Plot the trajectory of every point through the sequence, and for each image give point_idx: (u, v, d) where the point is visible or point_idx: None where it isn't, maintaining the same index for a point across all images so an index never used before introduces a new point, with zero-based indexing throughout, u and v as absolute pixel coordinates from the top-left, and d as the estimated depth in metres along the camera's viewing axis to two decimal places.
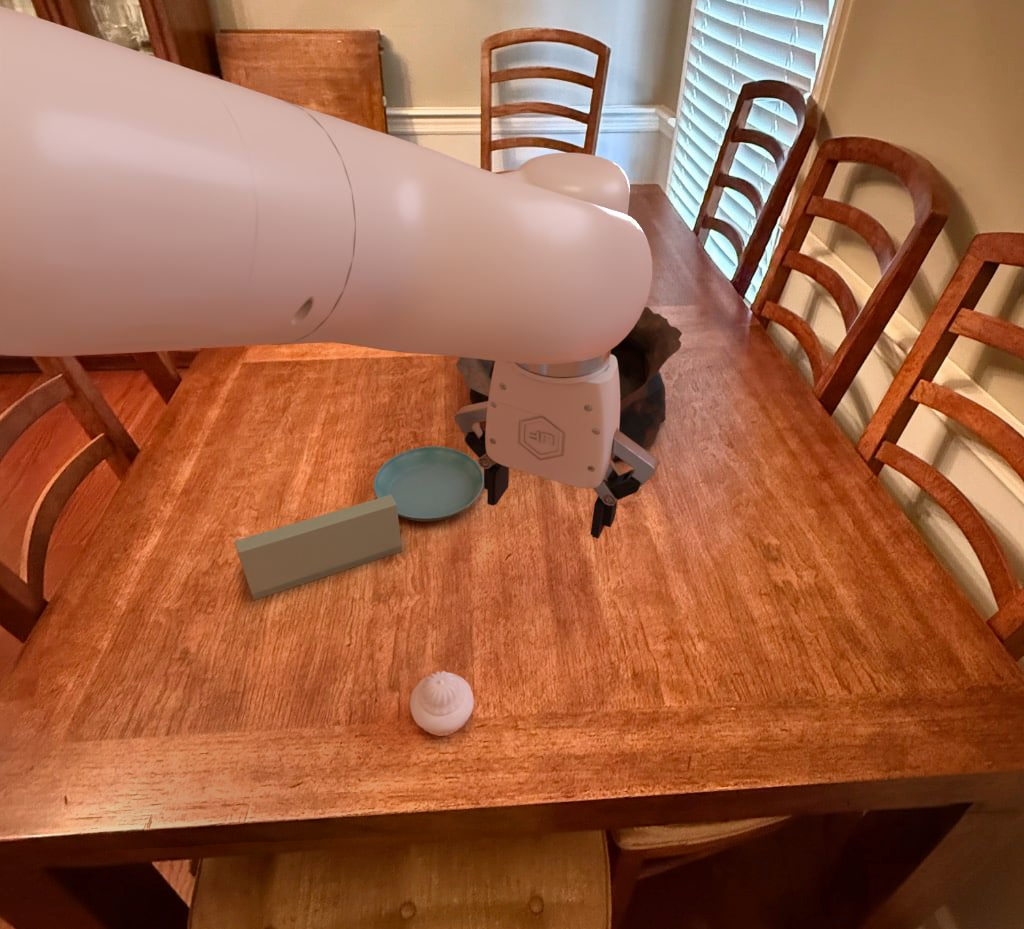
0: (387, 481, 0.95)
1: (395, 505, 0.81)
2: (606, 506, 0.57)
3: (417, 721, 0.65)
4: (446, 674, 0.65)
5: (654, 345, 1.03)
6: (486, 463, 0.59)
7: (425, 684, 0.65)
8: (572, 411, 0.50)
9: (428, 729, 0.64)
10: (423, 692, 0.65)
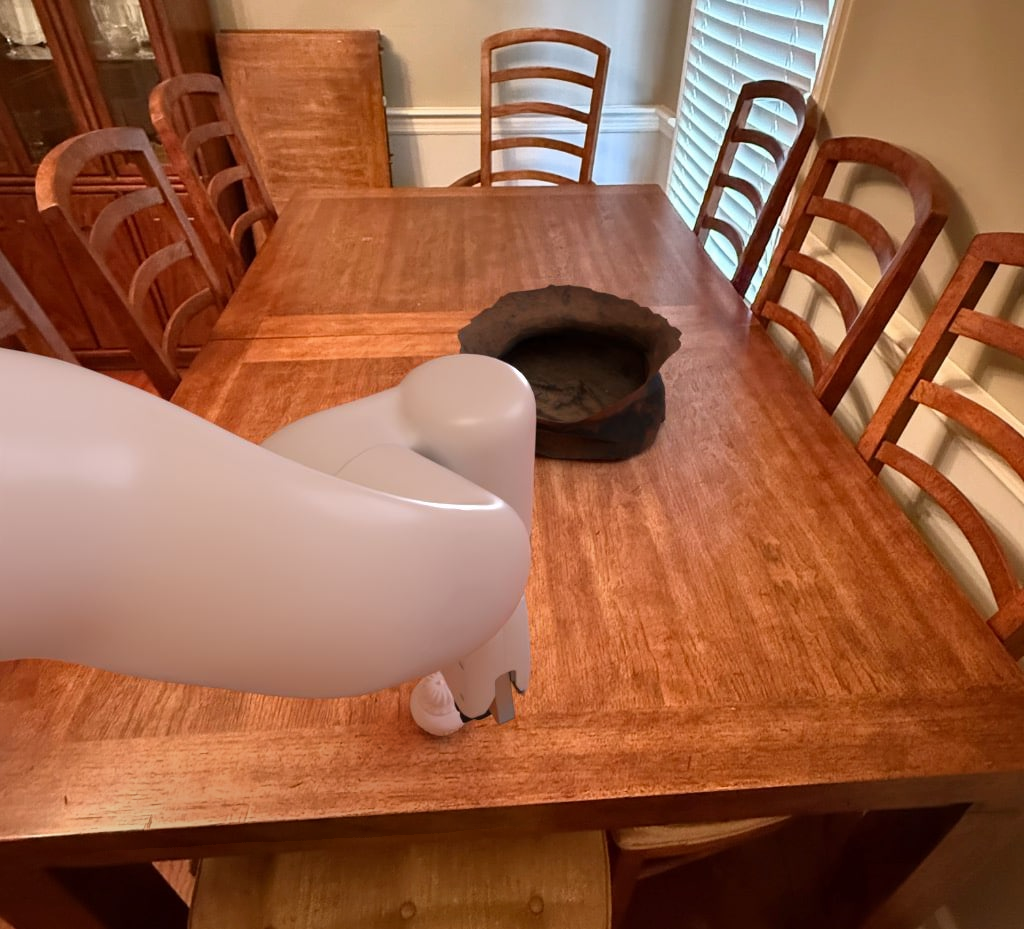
0: None
1: None
2: None
3: (417, 721, 0.65)
4: None
5: (654, 345, 1.03)
6: None
7: (425, 684, 0.65)
8: None
9: (428, 729, 0.64)
10: (423, 692, 0.65)
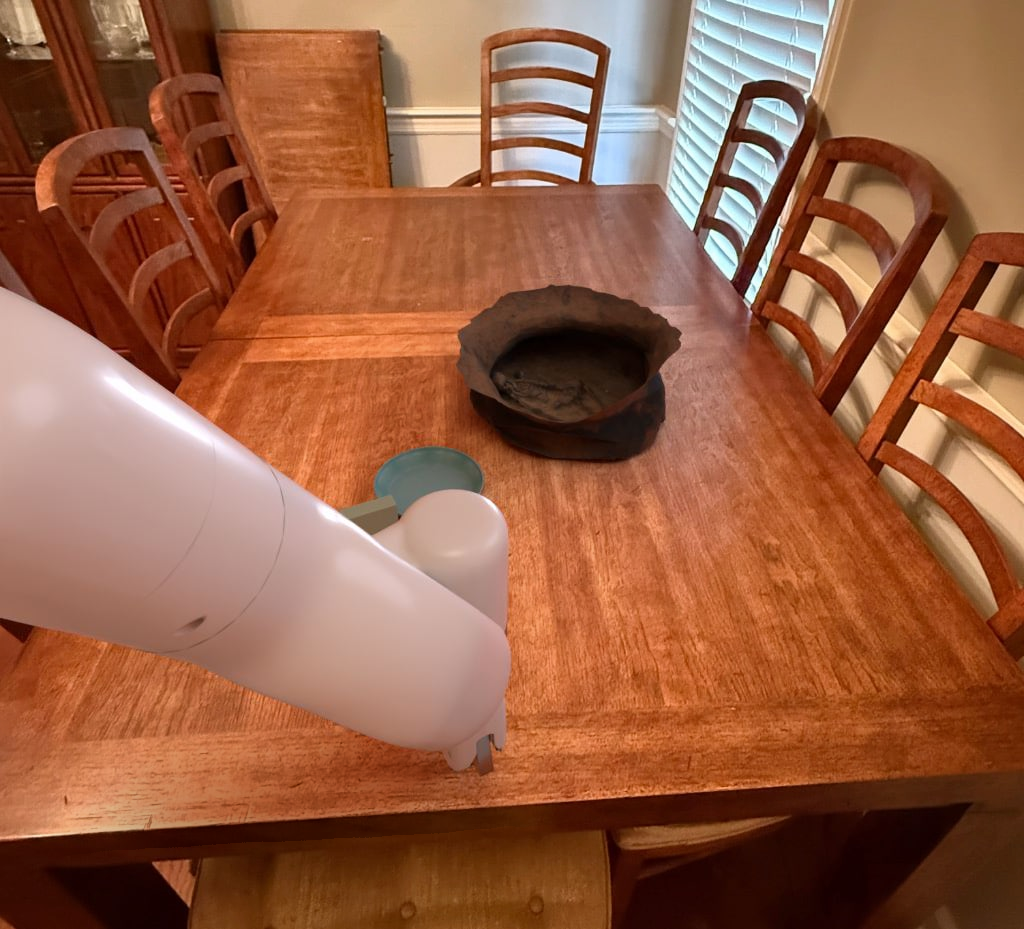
0: (387, 481, 0.95)
1: (395, 505, 0.81)
2: None
3: None
4: None
5: (654, 345, 1.03)
6: None
7: None
8: None
9: None
10: None
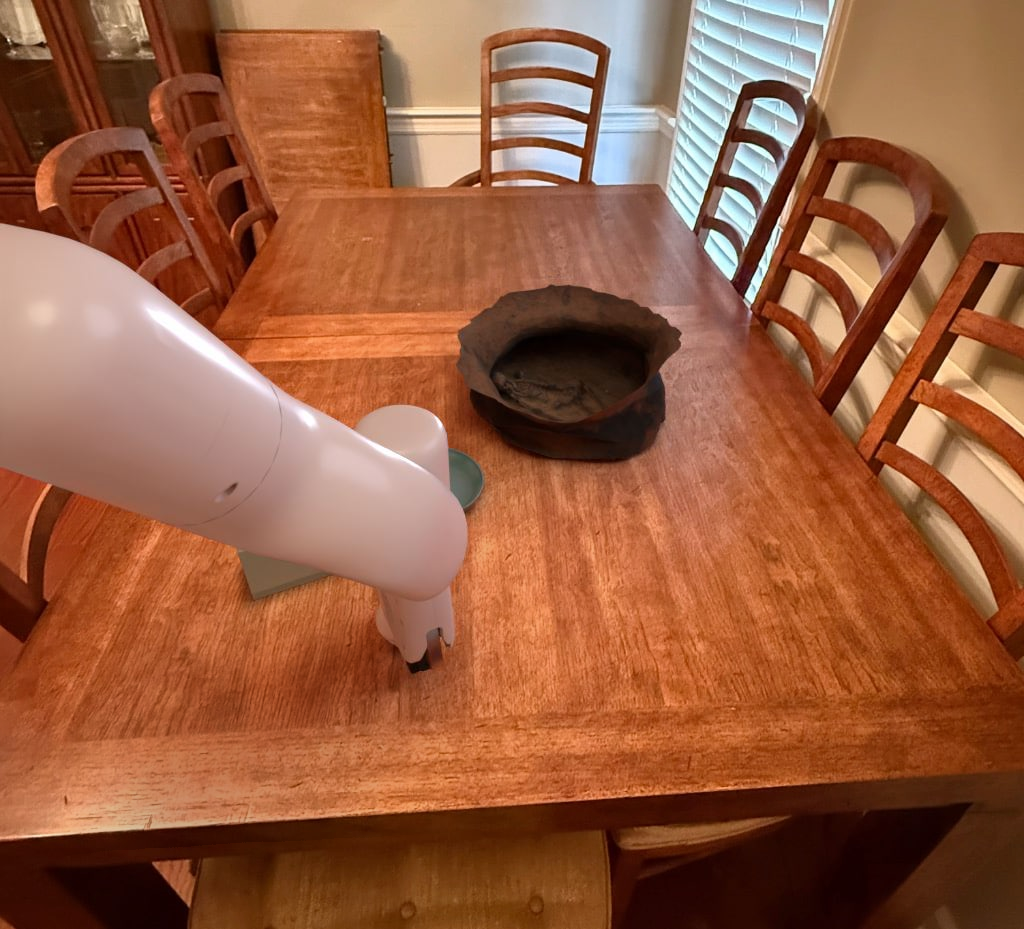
0: None
1: None
2: None
3: (381, 632, 0.72)
4: None
5: (654, 345, 1.03)
6: None
7: None
8: (391, 597, 0.60)
9: (391, 639, 0.72)
10: None
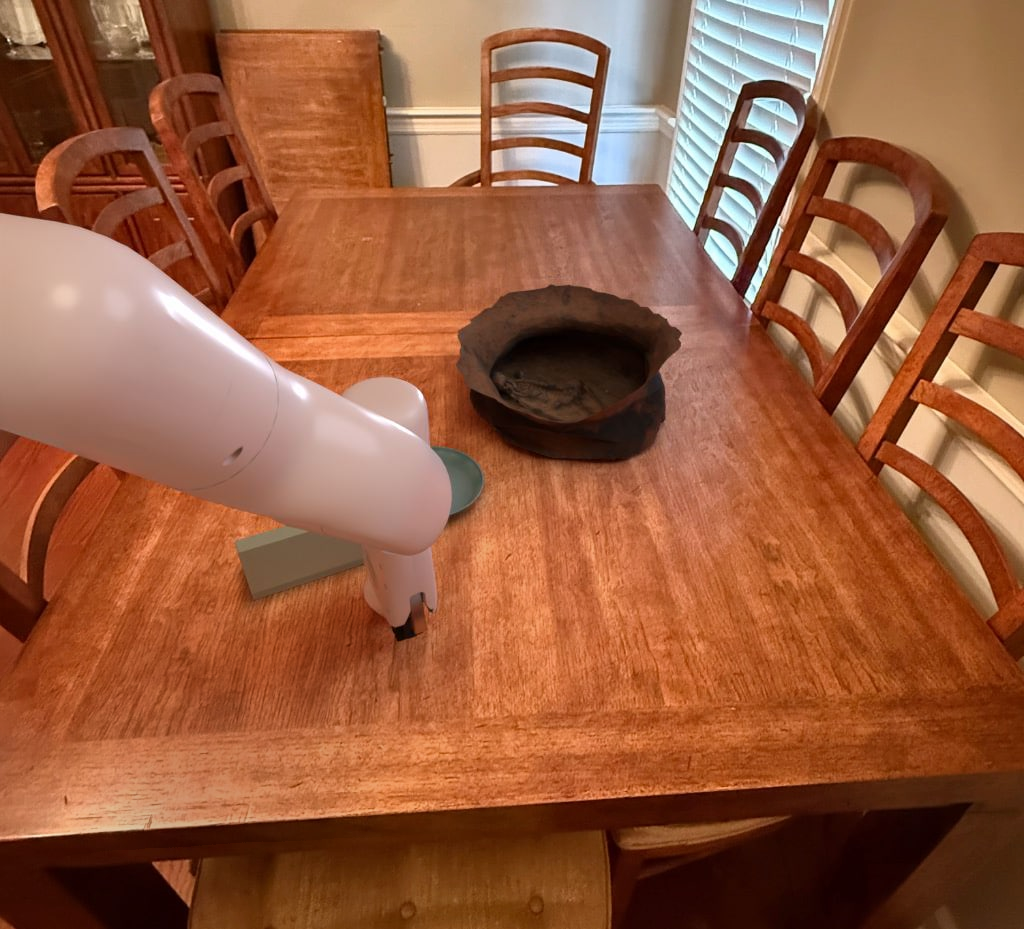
0: None
1: None
2: None
3: (369, 602, 0.75)
4: None
5: (654, 345, 1.03)
6: None
7: None
8: (376, 562, 0.63)
9: (378, 608, 0.75)
10: None
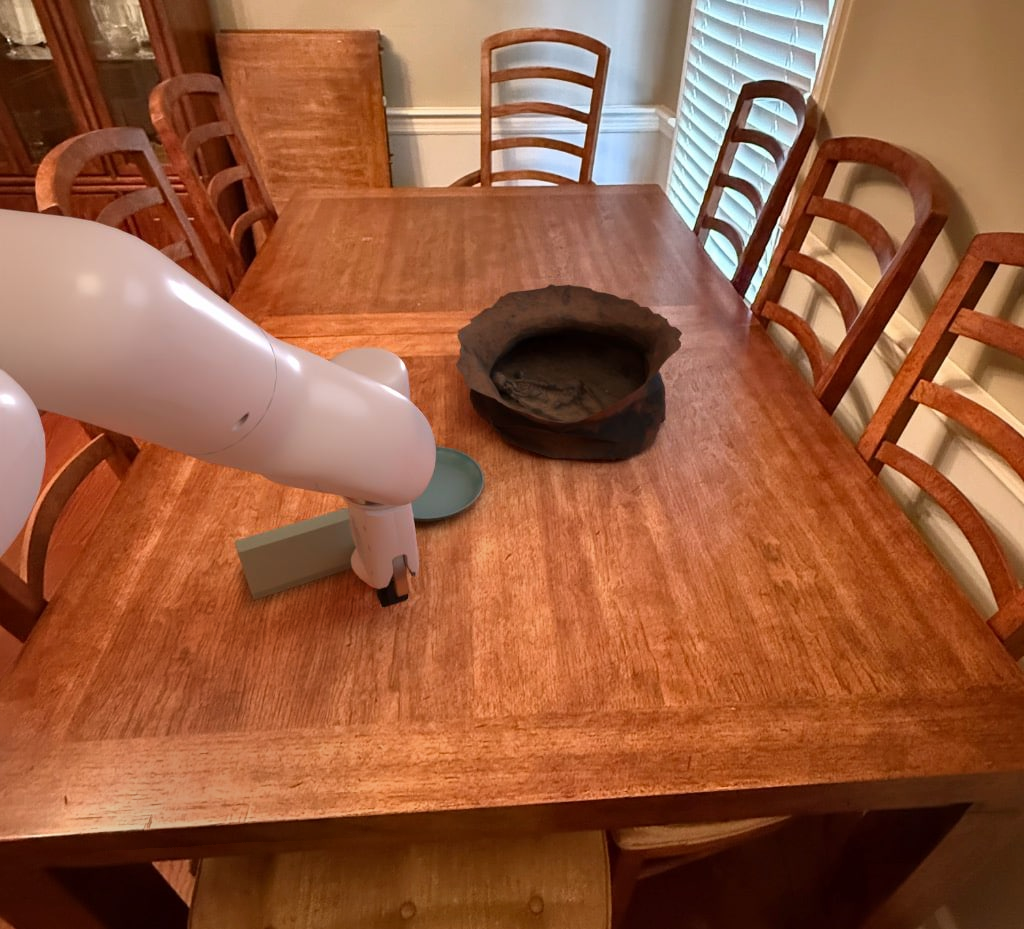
0: None
1: None
2: (386, 587, 0.75)
3: (356, 571, 0.79)
4: None
5: (654, 345, 1.03)
6: None
7: None
8: (360, 525, 0.67)
9: (364, 577, 0.78)
10: None
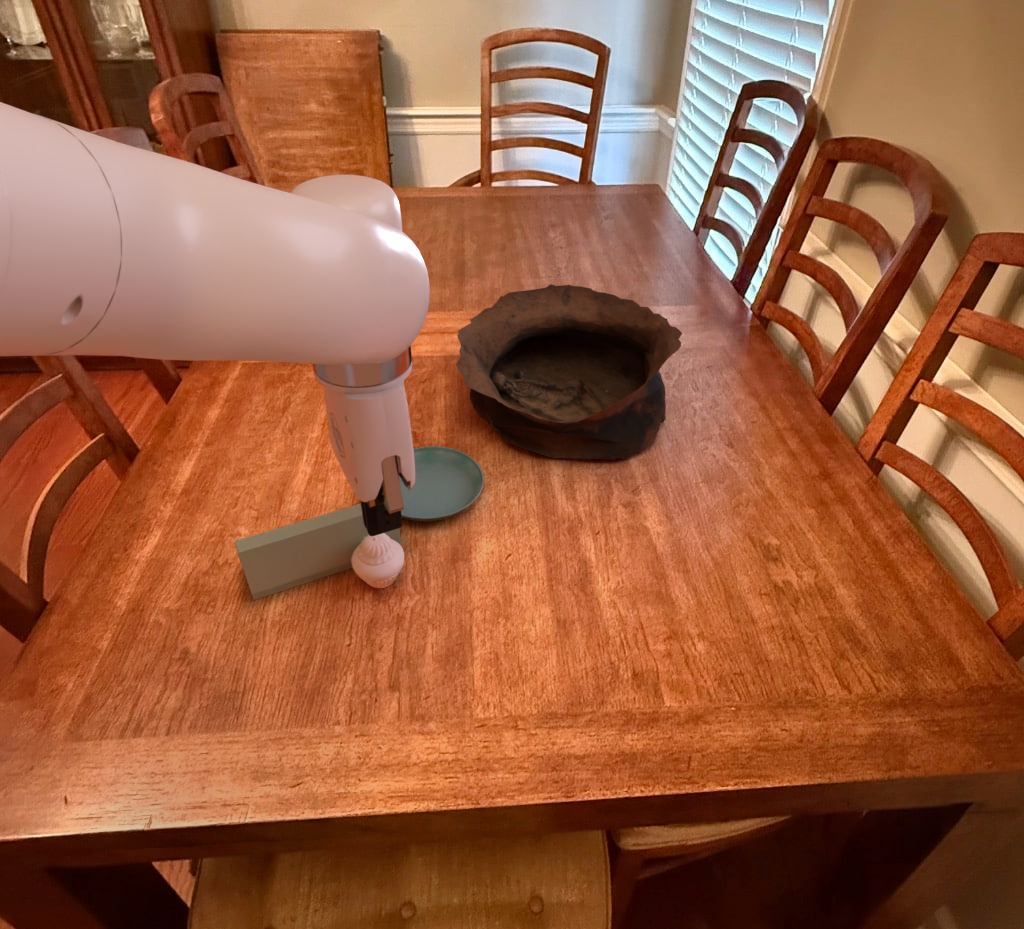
0: None
1: None
2: (374, 508, 0.61)
3: (356, 571, 0.79)
4: None
5: (654, 345, 1.03)
6: None
7: (363, 541, 0.79)
8: (341, 417, 0.53)
9: (365, 577, 0.78)
10: (361, 547, 0.79)
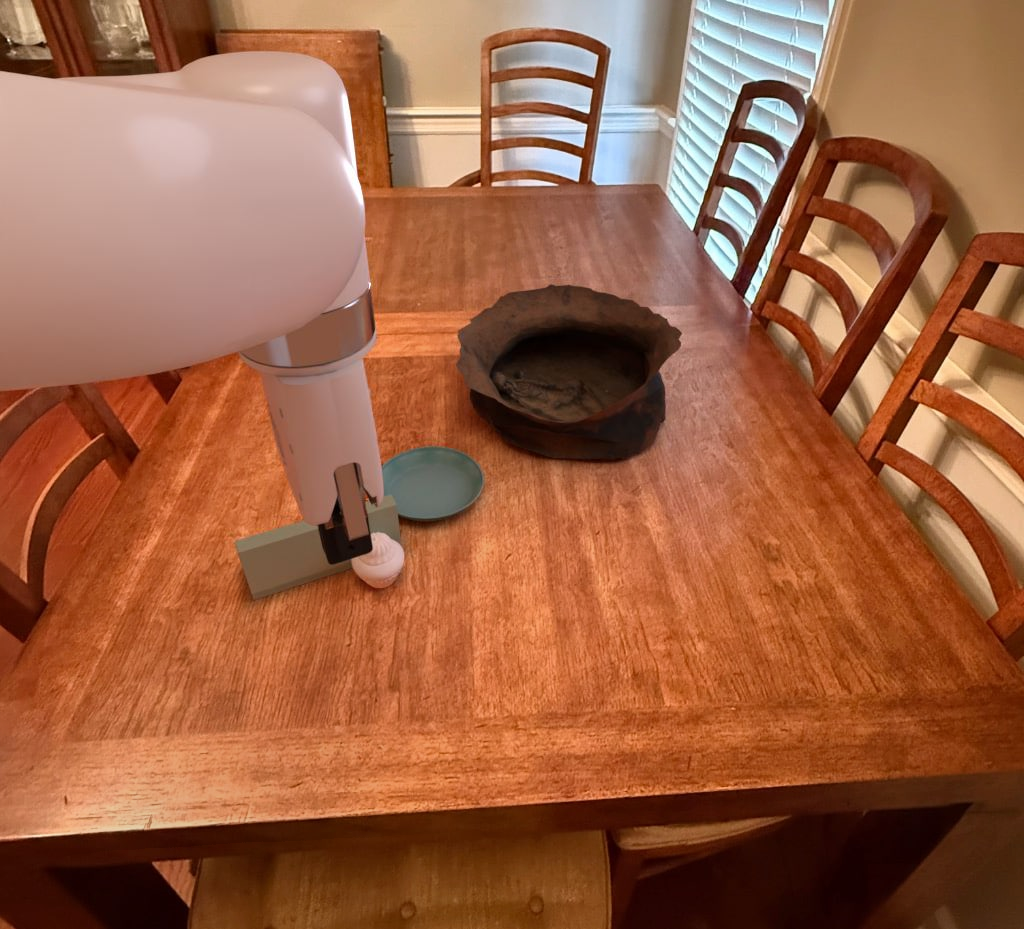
0: (387, 481, 0.95)
1: (395, 505, 0.81)
2: (334, 530, 0.46)
3: (356, 571, 0.79)
4: (380, 533, 0.79)
5: (654, 345, 1.03)
6: None
7: None
8: (276, 411, 0.38)
9: (365, 577, 0.78)
10: None
